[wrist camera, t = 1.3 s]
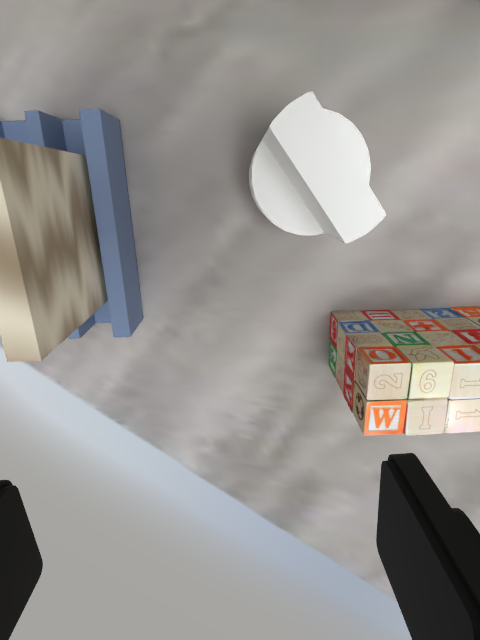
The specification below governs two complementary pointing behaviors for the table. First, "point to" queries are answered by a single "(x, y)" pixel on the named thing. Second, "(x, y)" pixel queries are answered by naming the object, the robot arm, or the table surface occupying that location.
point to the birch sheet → (46, 249)
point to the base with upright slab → (314, 174)
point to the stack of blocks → (409, 369)
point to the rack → (97, 204)
